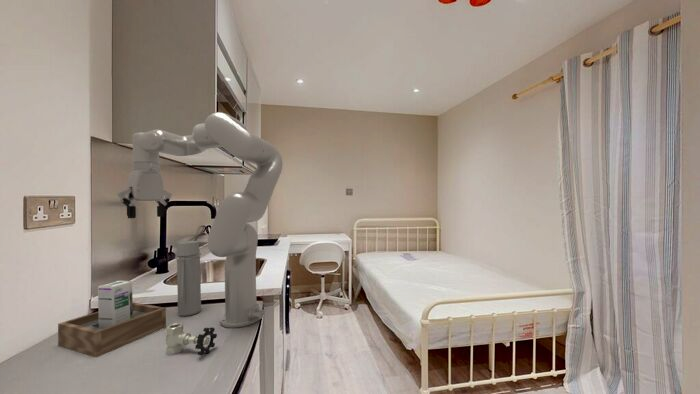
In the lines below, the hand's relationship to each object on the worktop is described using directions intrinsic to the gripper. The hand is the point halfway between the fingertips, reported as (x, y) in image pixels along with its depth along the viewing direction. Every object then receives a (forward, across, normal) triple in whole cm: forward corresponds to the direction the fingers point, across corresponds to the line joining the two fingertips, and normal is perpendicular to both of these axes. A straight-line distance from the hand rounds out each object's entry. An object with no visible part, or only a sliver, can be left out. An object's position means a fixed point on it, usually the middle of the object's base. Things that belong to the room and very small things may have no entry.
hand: (146, 217), depth 97 cm
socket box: (+34, +13, +6) cm, 37 cm away
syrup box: (+34, +13, +6) cm, 36 cm away
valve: (+35, +12, +36) cm, 51 cm away
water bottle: (+34, -6, +12) cm, 37 cm away
